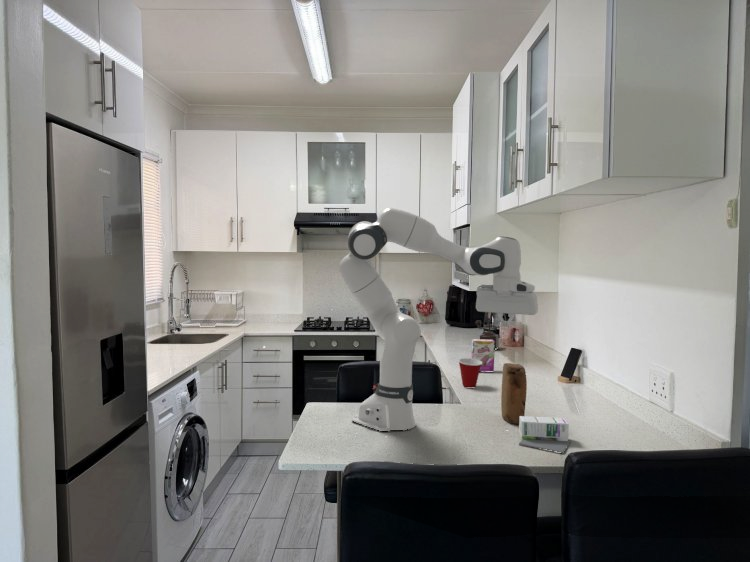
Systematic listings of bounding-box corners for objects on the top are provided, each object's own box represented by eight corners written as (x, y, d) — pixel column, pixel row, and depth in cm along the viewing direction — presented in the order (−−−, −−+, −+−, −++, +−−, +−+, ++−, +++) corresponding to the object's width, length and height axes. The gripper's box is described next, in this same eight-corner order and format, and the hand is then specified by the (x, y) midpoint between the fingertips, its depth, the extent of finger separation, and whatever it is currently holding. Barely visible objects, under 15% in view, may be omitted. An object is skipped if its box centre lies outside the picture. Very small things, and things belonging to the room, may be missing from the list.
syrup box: (521, 421, 156) (569, 423, 154) (519, 415, 162) (564, 418, 160) (521, 438, 156) (568, 441, 154) (518, 432, 162) (564, 435, 160)
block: (500, 415, 182) (501, 361, 181) (520, 415, 182) (521, 362, 181) (505, 424, 171) (507, 368, 170) (527, 425, 171) (529, 368, 170)
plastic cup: (470, 391, 215) (470, 364, 214) (452, 385, 224) (453, 359, 223) (487, 387, 221) (487, 361, 221) (469, 382, 230) (469, 357, 229)
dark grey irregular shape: (499, 348, 320) (499, 321, 319) (495, 351, 310) (496, 323, 309) (475, 346, 327) (476, 319, 326) (471, 349, 317) (471, 321, 316)
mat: (519, 445, 152) (519, 443, 152) (529, 433, 163) (529, 432, 163) (562, 454, 146) (563, 452, 146) (570, 441, 156) (570, 440, 156)
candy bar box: (472, 372, 251) (473, 340, 250) (470, 370, 256) (471, 339, 255) (494, 372, 251) (495, 340, 250) (492, 370, 256) (492, 339, 255)
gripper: (473, 284, 167) (472, 325, 168) (534, 287, 156) (533, 330, 157) (479, 284, 172) (479, 323, 173) (539, 286, 161) (538, 328, 162)
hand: (505, 326), depth 165 cm, fingers closed
